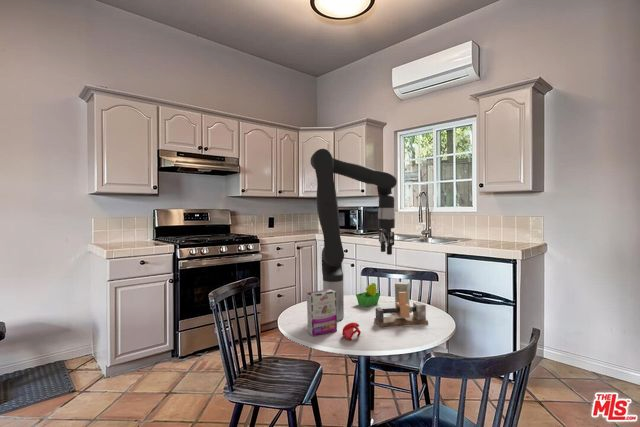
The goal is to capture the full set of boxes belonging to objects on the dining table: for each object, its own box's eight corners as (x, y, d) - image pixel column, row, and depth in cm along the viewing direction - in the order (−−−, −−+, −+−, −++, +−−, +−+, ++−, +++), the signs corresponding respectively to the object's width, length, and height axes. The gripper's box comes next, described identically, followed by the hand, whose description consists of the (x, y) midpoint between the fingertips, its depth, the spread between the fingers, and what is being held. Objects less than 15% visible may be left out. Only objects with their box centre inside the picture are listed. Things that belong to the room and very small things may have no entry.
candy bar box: (331, 327, 147) (330, 288, 146) (337, 331, 142) (336, 291, 142) (306, 332, 142) (306, 292, 141) (312, 336, 137) (311, 294, 137)
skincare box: (409, 307, 174) (409, 282, 173) (408, 309, 170) (407, 284, 169) (396, 305, 176) (396, 281, 176) (394, 308, 172) (394, 283, 172)
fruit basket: (370, 300, 187) (370, 279, 186) (383, 304, 180) (383, 281, 179) (354, 304, 179) (354, 282, 179) (367, 308, 173) (367, 285, 172)
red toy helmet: (366, 329, 135) (357, 318, 139) (357, 328, 131) (348, 316, 135) (353, 344, 137) (345, 333, 141) (344, 344, 132) (336, 332, 136)
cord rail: (380, 327, 146) (380, 309, 146) (374, 321, 154) (374, 303, 154) (428, 324, 150) (427, 306, 149) (419, 318, 157) (419, 300, 157)
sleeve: (400, 318, 149) (400, 294, 149) (395, 314, 154) (395, 291, 154) (409, 317, 150) (409, 293, 149) (404, 313, 155) (404, 290, 154)
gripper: (373, 217, 168) (373, 251, 169) (383, 218, 154) (383, 255, 155) (389, 217, 169) (388, 250, 170) (400, 218, 155) (399, 255, 156)
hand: (386, 253), depth 162 cm, fingers open, 8 cm apart
